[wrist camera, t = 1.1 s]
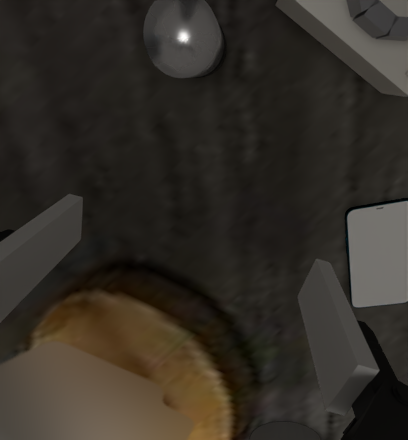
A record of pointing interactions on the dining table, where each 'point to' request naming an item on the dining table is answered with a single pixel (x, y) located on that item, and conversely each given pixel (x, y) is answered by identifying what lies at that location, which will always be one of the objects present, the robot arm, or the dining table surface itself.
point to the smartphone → (378, 253)
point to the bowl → (284, 432)
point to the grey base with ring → (360, 36)
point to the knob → (184, 38)
